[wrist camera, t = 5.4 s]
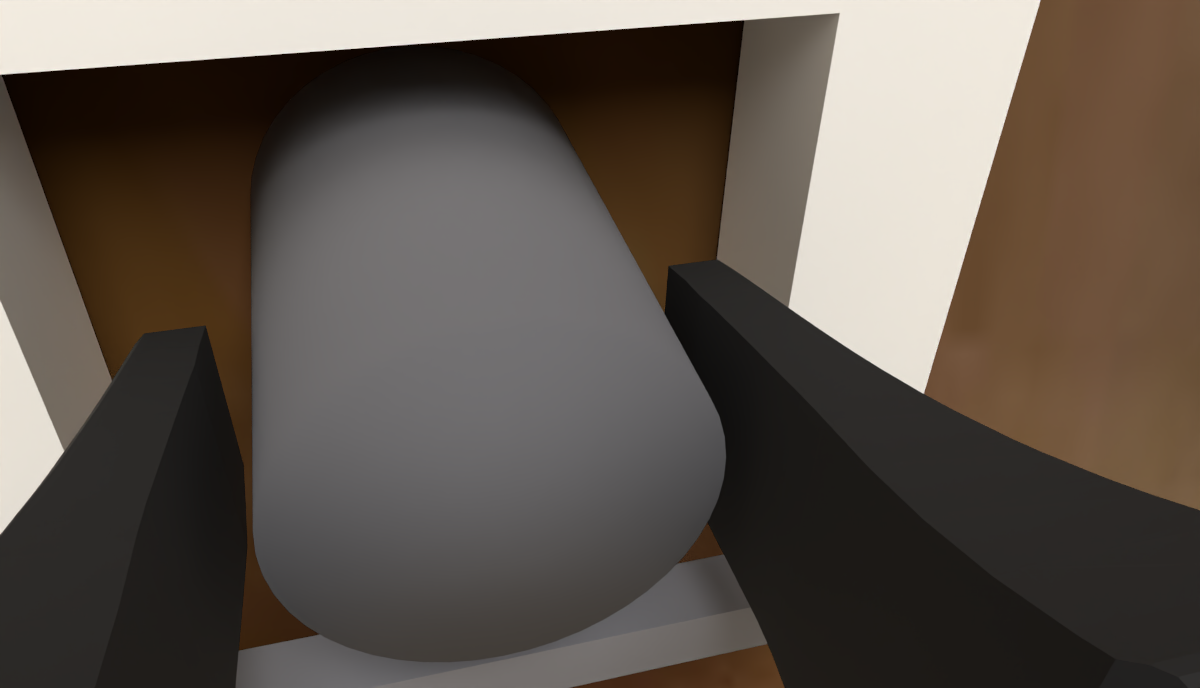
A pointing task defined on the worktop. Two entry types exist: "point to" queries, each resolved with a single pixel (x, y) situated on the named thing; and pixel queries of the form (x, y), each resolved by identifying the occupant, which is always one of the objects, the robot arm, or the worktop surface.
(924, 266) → the white frame with crossbar
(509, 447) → the grey rounded cylinder
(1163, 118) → the worktop surface
